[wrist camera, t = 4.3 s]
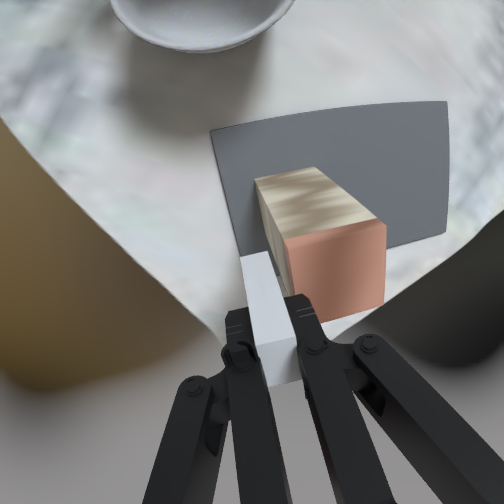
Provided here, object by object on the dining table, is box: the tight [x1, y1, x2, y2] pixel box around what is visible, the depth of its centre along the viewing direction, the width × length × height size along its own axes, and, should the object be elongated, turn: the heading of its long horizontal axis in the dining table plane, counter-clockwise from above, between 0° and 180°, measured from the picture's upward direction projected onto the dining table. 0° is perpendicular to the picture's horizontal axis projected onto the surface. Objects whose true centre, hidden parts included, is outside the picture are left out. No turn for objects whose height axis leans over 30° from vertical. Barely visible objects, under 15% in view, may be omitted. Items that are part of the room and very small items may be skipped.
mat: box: [210, 101, 449, 276], centre depth 26 cm, size 22×14×1 cm, turn 101°
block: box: [254, 167, 387, 323], centre depth 21 cm, size 5×5×12 cm
